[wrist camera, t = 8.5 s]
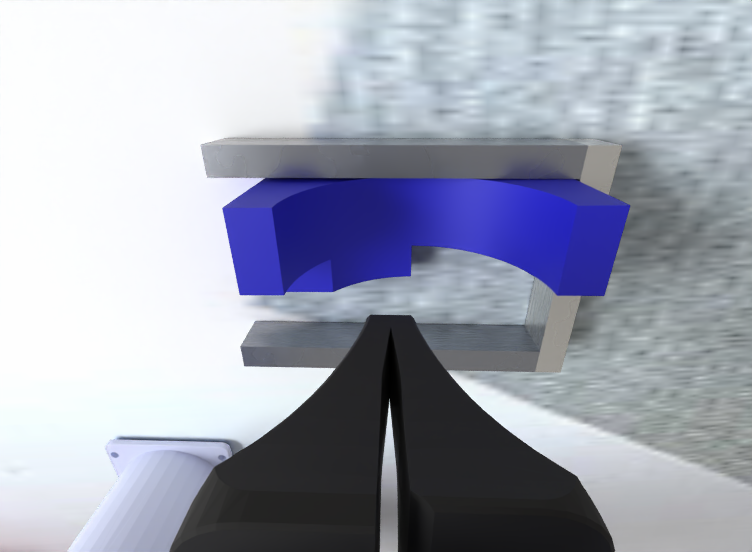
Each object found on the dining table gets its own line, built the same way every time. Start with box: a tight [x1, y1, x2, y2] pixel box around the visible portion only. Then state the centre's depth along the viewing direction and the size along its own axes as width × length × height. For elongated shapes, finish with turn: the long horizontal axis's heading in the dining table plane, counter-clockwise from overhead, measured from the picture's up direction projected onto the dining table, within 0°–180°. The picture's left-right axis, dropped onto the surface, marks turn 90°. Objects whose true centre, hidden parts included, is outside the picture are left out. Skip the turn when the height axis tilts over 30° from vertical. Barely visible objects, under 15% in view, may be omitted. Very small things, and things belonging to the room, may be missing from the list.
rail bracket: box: [201, 138, 622, 372], centre depth 17 cm, size 10×15×2 cm
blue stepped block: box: [223, 178, 630, 296], centre depth 15 cm, size 12×4×6 cm, turn 91°
